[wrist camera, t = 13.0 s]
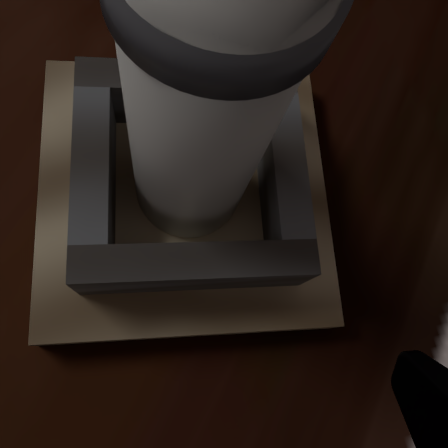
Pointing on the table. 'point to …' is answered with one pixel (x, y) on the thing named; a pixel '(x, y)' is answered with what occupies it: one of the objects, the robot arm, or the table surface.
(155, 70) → the tube
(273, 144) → the collar
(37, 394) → the table surface
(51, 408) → the table surface
